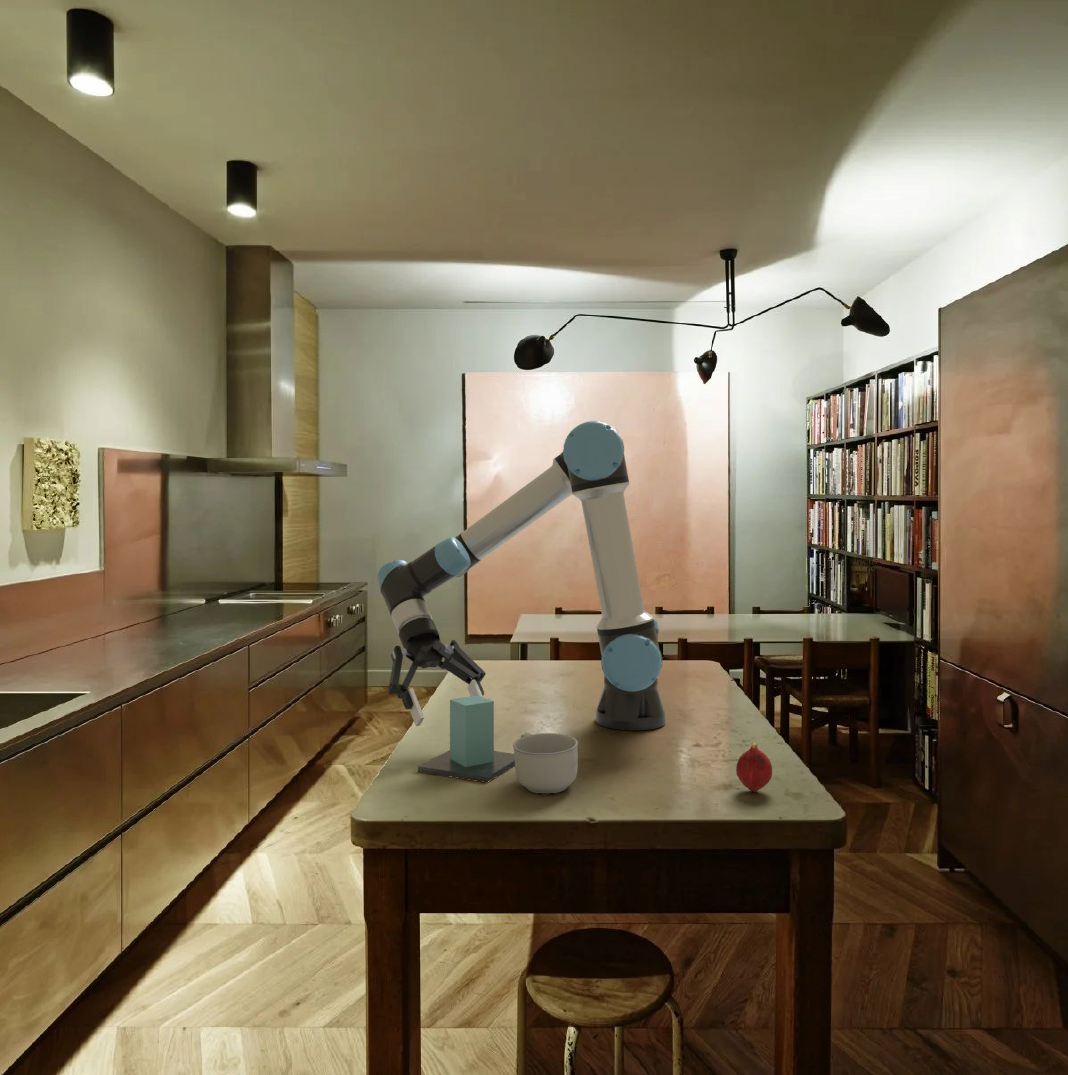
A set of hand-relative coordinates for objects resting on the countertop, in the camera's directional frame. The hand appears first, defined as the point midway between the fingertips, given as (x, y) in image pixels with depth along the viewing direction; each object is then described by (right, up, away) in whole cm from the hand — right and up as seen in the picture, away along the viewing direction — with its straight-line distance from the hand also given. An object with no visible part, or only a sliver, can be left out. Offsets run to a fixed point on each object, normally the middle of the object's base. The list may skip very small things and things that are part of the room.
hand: (452, 716), depth 158 cm
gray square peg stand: (+4, -8, -5) cm, 10 cm away
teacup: (+17, -9, -15) cm, 24 cm away
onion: (+52, -9, -18) cm, 56 cm away
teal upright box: (+4, -7, -5) cm, 9 cm away
